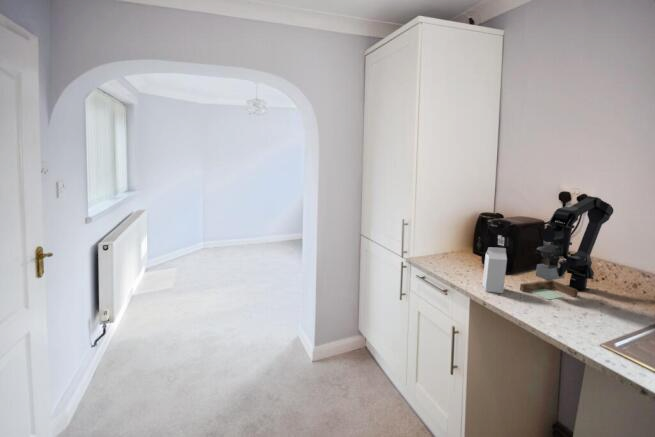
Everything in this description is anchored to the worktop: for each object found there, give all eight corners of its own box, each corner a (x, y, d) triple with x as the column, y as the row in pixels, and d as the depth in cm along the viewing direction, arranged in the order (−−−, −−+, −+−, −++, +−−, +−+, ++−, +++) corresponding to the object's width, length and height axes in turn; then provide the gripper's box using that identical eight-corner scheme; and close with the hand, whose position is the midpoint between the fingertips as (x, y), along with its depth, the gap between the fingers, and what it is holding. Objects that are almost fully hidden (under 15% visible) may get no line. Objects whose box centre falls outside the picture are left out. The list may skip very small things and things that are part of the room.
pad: (545, 289, 165) (546, 288, 165) (564, 297, 157) (564, 296, 157) (530, 291, 162) (530, 291, 162) (548, 299, 154) (548, 299, 154)
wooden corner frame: (550, 285, 169) (551, 279, 168) (577, 296, 157) (578, 290, 157) (519, 290, 163) (520, 283, 163) (544, 302, 152) (545, 295, 151)
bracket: (547, 280, 154) (549, 269, 153) (535, 275, 159) (536, 264, 158) (564, 278, 157) (565, 266, 156) (551, 273, 162) (553, 262, 161)
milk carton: (503, 293, 160) (508, 250, 156) (485, 291, 161) (489, 249, 157) (499, 287, 166) (503, 246, 163) (482, 285, 168) (486, 245, 164)
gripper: (528, 235, 160) (523, 269, 163) (568, 246, 143) (562, 285, 146) (548, 233, 163) (543, 267, 167) (589, 244, 146) (583, 282, 149)
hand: (556, 275), depth 157 cm, fingers closed on bracket, 3 cm apart
